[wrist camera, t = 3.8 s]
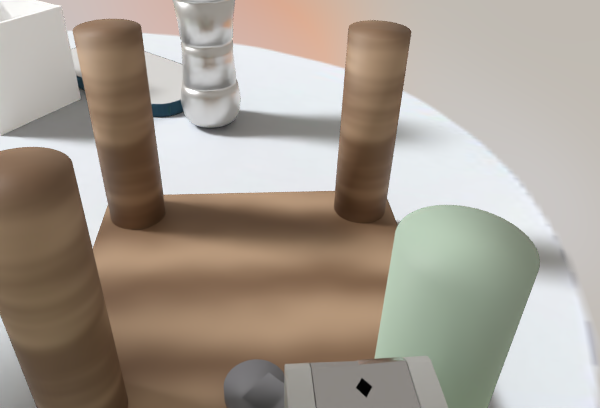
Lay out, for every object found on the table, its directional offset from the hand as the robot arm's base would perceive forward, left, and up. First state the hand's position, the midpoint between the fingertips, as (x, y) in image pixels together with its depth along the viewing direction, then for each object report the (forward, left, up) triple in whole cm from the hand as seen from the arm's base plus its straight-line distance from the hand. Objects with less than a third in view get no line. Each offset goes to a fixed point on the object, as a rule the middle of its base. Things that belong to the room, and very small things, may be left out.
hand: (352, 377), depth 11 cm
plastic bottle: (+23, +44, -18) cm, 53 cm away
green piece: (+5, +5, -15) cm, 16 cm away
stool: (+9, +17, -18) cm, 26 cm away
